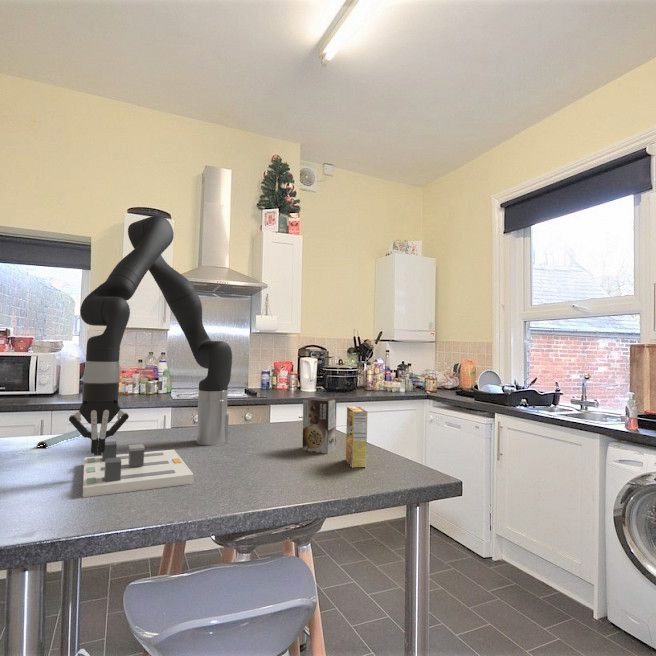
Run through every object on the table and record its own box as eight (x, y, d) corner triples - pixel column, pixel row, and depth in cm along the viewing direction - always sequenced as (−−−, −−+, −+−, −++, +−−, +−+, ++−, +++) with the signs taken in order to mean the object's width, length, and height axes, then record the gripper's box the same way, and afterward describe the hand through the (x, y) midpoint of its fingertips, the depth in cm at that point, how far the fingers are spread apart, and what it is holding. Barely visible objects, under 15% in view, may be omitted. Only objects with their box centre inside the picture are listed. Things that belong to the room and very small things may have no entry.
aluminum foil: (47, 453, 126) (47, 441, 126) (24, 452, 126) (25, 440, 126) (91, 437, 148) (92, 427, 148) (72, 436, 148) (72, 426, 149)
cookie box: (336, 450, 136) (337, 398, 136) (327, 454, 130) (329, 400, 130) (310, 446, 139) (311, 396, 140) (301, 450, 134) (302, 398, 134)
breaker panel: (173, 458, 121) (174, 435, 122) (193, 485, 99) (194, 456, 99) (83, 467, 111) (85, 441, 111) (82, 500, 88) (84, 467, 88)
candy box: (344, 460, 124) (345, 406, 124) (359, 459, 125) (360, 406, 125) (351, 468, 115) (352, 411, 116) (367, 468, 116) (368, 410, 116)
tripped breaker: (142, 461, 107) (142, 443, 108) (143, 465, 104) (144, 447, 104) (128, 462, 106) (128, 445, 106) (129, 467, 102) (130, 448, 102)
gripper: (131, 379, 108) (127, 449, 107) (69, 379, 102) (65, 453, 101) (133, 381, 102) (129, 456, 101) (68, 382, 95) (63, 461, 94)
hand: (97, 454), depth 101 cm, fingers closed
